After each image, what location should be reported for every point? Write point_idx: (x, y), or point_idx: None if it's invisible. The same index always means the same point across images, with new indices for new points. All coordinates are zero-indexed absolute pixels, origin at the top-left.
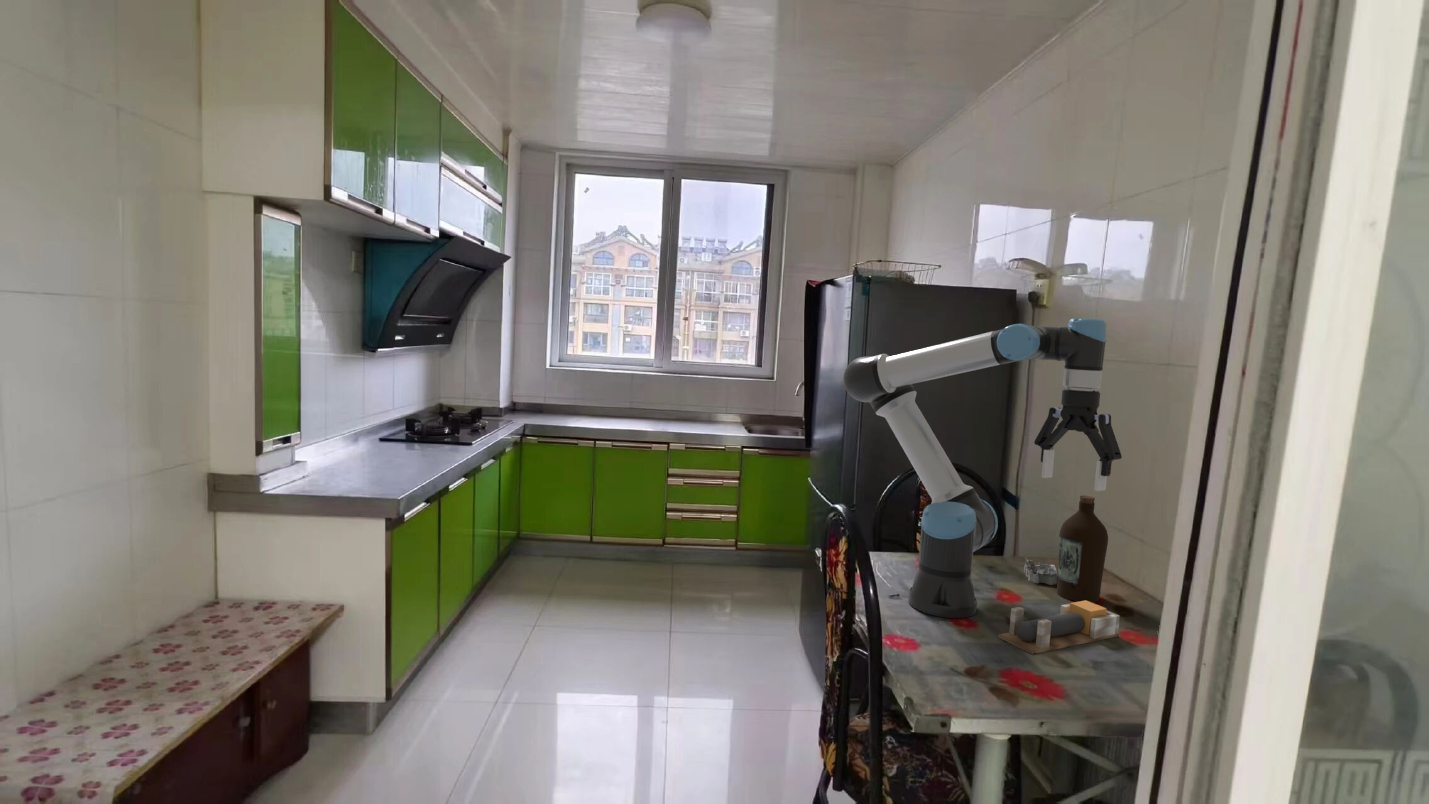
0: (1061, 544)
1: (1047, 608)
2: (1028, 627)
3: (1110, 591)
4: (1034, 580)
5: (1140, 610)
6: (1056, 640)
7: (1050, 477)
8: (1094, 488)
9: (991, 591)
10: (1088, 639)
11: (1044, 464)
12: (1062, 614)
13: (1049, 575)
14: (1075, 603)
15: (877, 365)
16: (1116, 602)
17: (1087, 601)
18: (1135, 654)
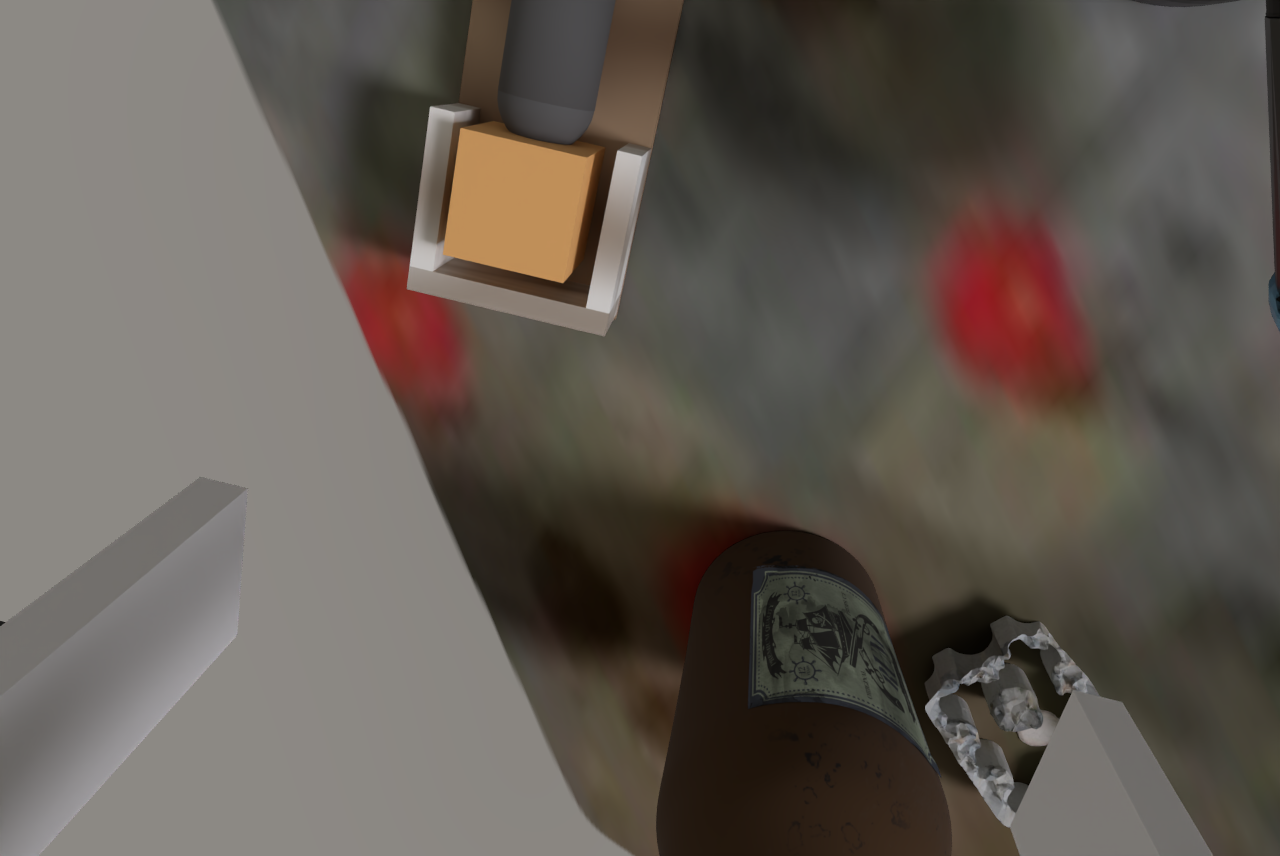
0: (890, 700)
1: (798, 327)
2: None
3: None
4: (1010, 622)
5: (540, 659)
6: None
7: (1024, 799)
8: (231, 500)
9: (1110, 304)
10: (465, 65)
11: (1174, 852)
12: (630, 148)
13: (958, 679)
14: (567, 178)
15: None
16: (643, 672)
17: (550, 273)
18: (296, 127)
